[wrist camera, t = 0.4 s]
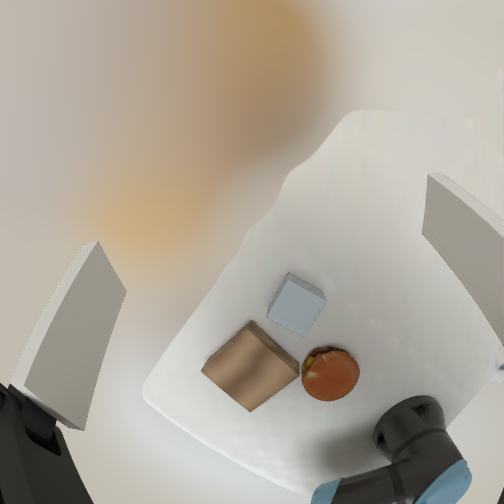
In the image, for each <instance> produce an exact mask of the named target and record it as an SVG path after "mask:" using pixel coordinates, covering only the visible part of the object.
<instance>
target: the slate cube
mask: <svg viewBox="0 0 504 504" xmlns="http://www.w3.org/2000/svg"><path fill="white" fill-rule="evenodd" d="M325 303H326V298H325V296H324V294H323V292H322V291H321V290H320V289H318V288H316V287H314V286H312V285H311V284H309V283H307V282H305V281H303V280H301V279H300V278H298V277H296V276H294V275H292V274H291V273H289V272H288V274H287V276H286V277H285V279H284V281H283V283H282V284H281V286H280V288H279V290H278V291H277V293H276V295H275V297H274V298H273V300H272V302H271V303H270V305H269V309H268V312H267V316H266V318H268V319H270V320H272V321H274V322H276V323H277V324H279V325H281V326H283V327H285V328H287V329H289V330H291V331H293V332H294V333H296V334H298V335H300V336H302V337H304V336H305V335H306V333H307V332H308V330H309V329H310V327H311V326H312V324H313V322H314V321H315V319H316V318H317V316H318V314H319V313H320V311H321V310H322V308H323V306H324V305H325Z"/></svg>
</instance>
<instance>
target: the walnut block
mask: <svg viewBox="0 0 504 504" xmlns="http://www.w3.org/2000/svg"><path fill="white" fill-rule="evenodd" d="M201 372H202V373H204V374H205V375H206V376H207V377H208V378H209V379H210V380H211V381H213V382H214V383H215V384H216V385H217V386H218V387H220V388H221V389H222V390H223V391H224V392H226V393H227V394H228V395H229V396H230V397H232V398H233V399H234V400H235V401H236V402H238V403H239V404H240V405H241V406H243V407H244V408H245V409H246V410H248V411H249V412H251V411H253V410H254V409H256V408H257V407H258V406H260V405H261V404H263V403H264V402H265V401H267V400H268V399H270V398H271V397H272V396H274V395H275V394H276V393H278V392H279V391H280V390H282V389H283V388H284V387H286V386H287V385H288V384H290V383H291V382H292V381H293V380H295V379H296V378H297V377H298V376H299V363H298V362H297V361H296V360H295V359H293V358H292V357H291V356H290V355H289V354H288V353H287V352H286V351H285V350H283V349H282V348H281V347H280V346H279V345H278V344H277V343H276V342H275V341H274V340H272V339H271V338H270V337H269V336H268V335H267V334H266V333H265V332H264V331H263V330H262V329H261V328H260V327H258V326H257V325H256V324H255V323H254V322H253V321H252V320H251V321H250V322H249V323H247V324H246V325H245V326H244V327H243V328H242V329H241V330H240V331H239V332H238V333H237V334H236V335H235V336H233V337H232V338H231V339H230V340H229V341H228V342H227V343H226V344H225V345H224V346H222V347H221V348H220V349H219V350H218V351H217V352H216V353H215V354H214V355H212V356H211V357H210V358H209V359H208V360H207V362H206V363H205V365H204V366H203V368H202V370H201Z"/></svg>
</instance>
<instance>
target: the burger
mask: <svg viewBox="0 0 504 504" xmlns="http://www.w3.org/2000/svg"><path fill="white" fill-rule="evenodd" d="M359 373H360V371H359V366H358V364H357V362H356V361H355V360H354V358H352V357H351V356H350V355H349V354H348V352H347V351H345V350H340V349H338V348H336V349H335V348H333V347H328V348H327V349H326V348H324V349H321V350H320V349H316V350H314V351H313V352H312V353H311V354H310V355H309V356H308V358H307V359H306V360H305V361H304V363H303V365H302V384H303V386H304V388H305V390H306V391H307V392H308V394H309V395H311V396H312V397H314V398H316V399H318V400H322V401H335V400H337V399H340V398H342V397H344V396H346V395H347V394H349V393H350V391H351V390H352V389H353V388H354V386H355V385H356V383H357V381H358V378H359Z"/></svg>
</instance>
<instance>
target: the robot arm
mask: <svg viewBox="0 0 504 504" xmlns="http://www.w3.org/2000/svg"><path fill="white" fill-rule="evenodd" d="M422 234H423V235H424V237H425V238H426V239H427V240H428V241H429V242H430V244H431V245H432V246H433V247H434V248H435V250H436V251H437V252H438V253H439V254H440V256H441V257H442V258H443V259H444V261H445V262H446V263H447V264H448V266H449V267H450V268H451V269H452V271H453V272H454V273H455V275H456V276H457V277H458V278H459V280H460V281H461V283H462V284H463V285H464V287H465V288H466V289H467V291H468V292H469V293H470V295H471V296H472V298H473V299H474V301H475V302H476V303H477V305H478V306H479V308H480V309H481V311H482V312H483V314H484V315H485V317H486V318H487V320H488V322H489V323H490V325H491V326H492V328H493V330H494V331H495V333H496V334H497V336H498V338H499V339H500V341H501V343H502V345H503V346H504V220H502V219H501V218H500V217H499V216H498V215H497V214H496V213H494V212H493V211H492V210H491V209H490V208H488V207H487V206H486V205H485V204H484V203H482V202H481V201H480V200H479V199H477V198H476V197H475V196H473V195H472V194H471V193H470V192H468V191H467V190H466V189H464V188H463V187H462V186H460V185H459V184H458V183H456V182H455V181H453V180H452V179H451V178H449V177H448V176H446V175H445V174H443V173H434V174H428V180H427V193H426V204H425V213H424V221H423V229H422ZM126 292H127V291H126V289H125V288H124V286H123V284H122V283H121V281H120V279H119V278H118V276H117V274H116V272H115V271H114V269H113V267H112V265H111V263H110V262H109V260H108V258H107V256H106V254H105V253H104V251H103V249H102V247H101V246H100V243H99V241H96V242H92V243H88V244H85V245H84V246H83V247H82V249H81V250H80V252H79V253H78V255H77V257H76V258H75V259H74V261H73V262H72V264H71V265H70V267H69V269H68V270H67V272H66V273H65V275H64V277H63V278H62V280H61V281H60V283H59V285H58V287H57V288H56V290H55V292H54V293H53V295H52V297H51V298H50V300H49V302H48V304H47V306H46V307H45V309H44V311H43V313H42V315H41V317H40V319H39V320H38V322H37V325H36V326H35V328H34V330H33V332H32V334H31V336H30V338H29V340H28V342H27V345H26V347H25V349H24V351H23V353H22V355H21V358H20V360H19V362H18V365H17V367H16V369H15V372H14V374H13V376H12V379H11V381H10V385H9V387H8V389H7V388H6V387H4V386H3V385H2V384H1V383H0V504H94V503H93V501H92V500H91V498H90V496H89V494H88V492H87V490H86V488H85V486H84V484H83V482H82V480H81V478H80V476H79V473H78V471H77V469H76V467H75V464H74V462H73V460H72V458H71V455H70V453H69V450H68V448H67V445H66V442H65V440H64V437H63V434H62V432H61V430H60V428H58V427H57V426H55V425H56V421H57V420H58V421H59V422H61V423H62V424H64V425H65V426H67V427H68V428H72V429H78V430H83V431H84V430H85V426H86V421H87V417H88V413H89V408H90V404H91V401H92V397H93V393H94V389H95V386H96V382H97V378H98V375H99V372H100V368H101V365H102V361H103V358H104V355H105V352H106V349H107V345H108V343H109V339H110V337H111V334H112V330H113V327H114V325H115V322H116V319H117V316H118V313H119V310H120V308H121V305H122V302H123V300H124V297H125V294H126ZM374 441H375V444H376V447H377V449H378V450H379V452H380V453H381V454H382V455H384V456H385V457H386V458H387V459H388V460H389V461H390V462H391V465H388V466H384V467H381V468H379V469H375V470H372V471H369V472H366V473H363V474H359V475H355V476H352V477H348V478H340V479H339V480H335V481H332V482H328V483H324V484H321V485H320V486H318V487H317V488H316V490H315V491H314V493H313V496H312V500H311V504H455V503H456V502H457V501H458V500H459V499H460V498H461V497H462V496H463V495H464V494H465V492H466V491H467V490H468V488H469V486H470V484H471V480H472V475H471V472H470V470H469V468H468V466H467V461H466V460H465V459H464V458H463V457H462V455H461V453H460V452H459V450H458V449H457V447H456V446H455V444H454V443H453V441H452V439H451V438H450V436H449V435H448V433H447V432H446V428H445V420H444V413H443V410H442V408H441V406H440V405H439V403H438V402H437V401H436V400H435V399H434V398H432V397H428V396H417V397H413V398H409V399H407V400H404V401H402V402H400V403H399V404H397V405H395V406H394V407H393V408H391V409H390V410H389V411H388V412H386V413H385V414H384V415H383V417H382V418H381V419H380V420H379V422H378V423H377V425H376V427H375V430H374ZM497 504H504V488H503V491H502V493H501V496H500V498H499V501H498V503H497Z"/></svg>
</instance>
